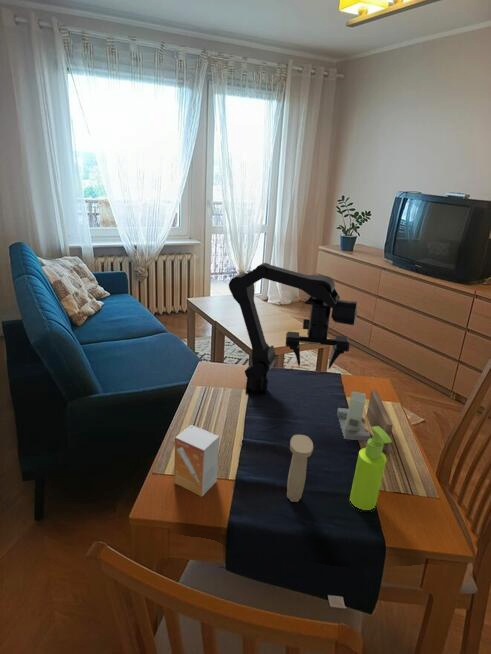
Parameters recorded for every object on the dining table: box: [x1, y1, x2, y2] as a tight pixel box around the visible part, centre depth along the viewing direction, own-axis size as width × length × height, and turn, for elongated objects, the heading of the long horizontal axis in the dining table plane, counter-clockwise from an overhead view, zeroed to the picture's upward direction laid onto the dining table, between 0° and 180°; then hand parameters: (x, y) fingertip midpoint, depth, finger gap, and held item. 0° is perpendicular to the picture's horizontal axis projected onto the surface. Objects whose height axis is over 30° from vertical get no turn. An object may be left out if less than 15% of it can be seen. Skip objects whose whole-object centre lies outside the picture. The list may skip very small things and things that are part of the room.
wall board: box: [366, 389, 394, 454], centre depth 126 cm, size 3×18×9 cm, turn 178°
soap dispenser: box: [349, 426, 393, 510], centre depth 97 cm, size 6×7×20 cm
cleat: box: [336, 407, 371, 443], centre depth 129 cm, size 7×14×2 cm, turn 178°
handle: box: [286, 434, 314, 503], centre depth 98 cm, size 5×6×15 cm
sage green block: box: [345, 390, 366, 431], centre depth 127 cm, size 4×6×10 cm
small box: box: [173, 424, 220, 498], centre depth 101 cm, size 8×6×13 cm
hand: (314, 366), depth 136 cm, fingers open, 9 cm apart
